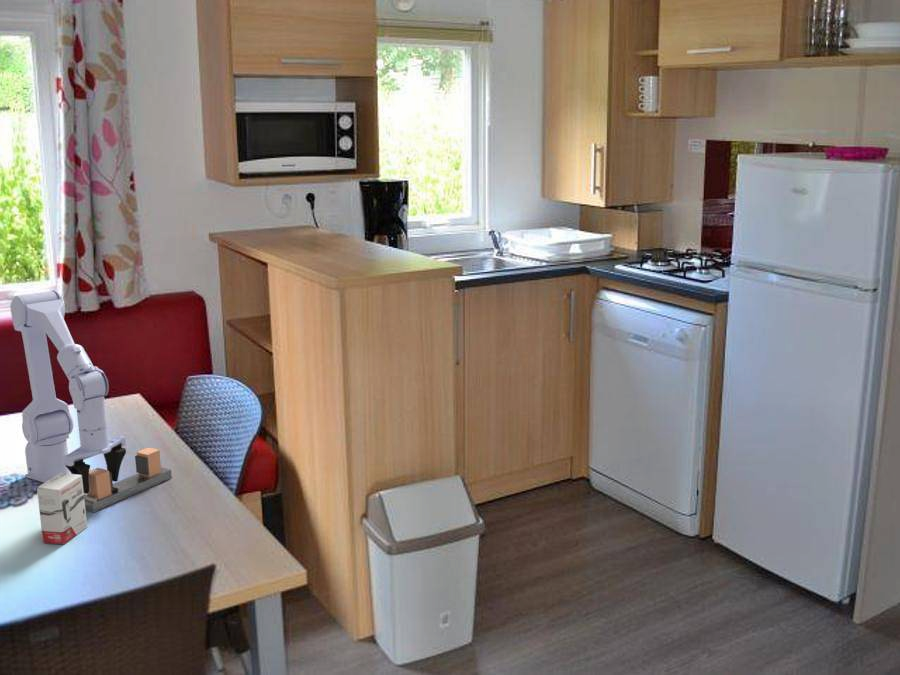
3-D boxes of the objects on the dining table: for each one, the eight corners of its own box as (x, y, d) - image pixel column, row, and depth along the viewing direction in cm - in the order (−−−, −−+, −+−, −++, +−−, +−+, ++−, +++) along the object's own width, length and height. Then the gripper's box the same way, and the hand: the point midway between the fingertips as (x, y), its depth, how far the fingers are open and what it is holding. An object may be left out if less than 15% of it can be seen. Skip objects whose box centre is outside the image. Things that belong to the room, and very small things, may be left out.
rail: (78, 507, 204) (76, 494, 203) (156, 473, 222) (155, 461, 222) (93, 512, 201) (92, 499, 201) (171, 477, 220) (170, 465, 219)
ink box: (64, 545, 187) (57, 489, 184) (42, 543, 187) (35, 488, 185) (88, 526, 195) (83, 473, 192) (67, 524, 196) (61, 471, 193)
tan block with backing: (87, 496, 205) (84, 473, 203) (102, 490, 208) (100, 466, 207) (98, 500, 203) (95, 476, 202) (113, 493, 206) (111, 469, 205)
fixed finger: (136, 475, 216) (134, 452, 215) (150, 469, 219) (148, 447, 218) (147, 478, 214) (145, 455, 213) (161, 472, 218) (159, 450, 216)
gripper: (76, 440, 194) (83, 501, 197) (132, 420, 206) (138, 478, 209) (54, 434, 197) (61, 495, 201) (110, 415, 209) (116, 472, 213)
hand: (99, 486), depth 205 cm, fingers open, 7 cm apart
